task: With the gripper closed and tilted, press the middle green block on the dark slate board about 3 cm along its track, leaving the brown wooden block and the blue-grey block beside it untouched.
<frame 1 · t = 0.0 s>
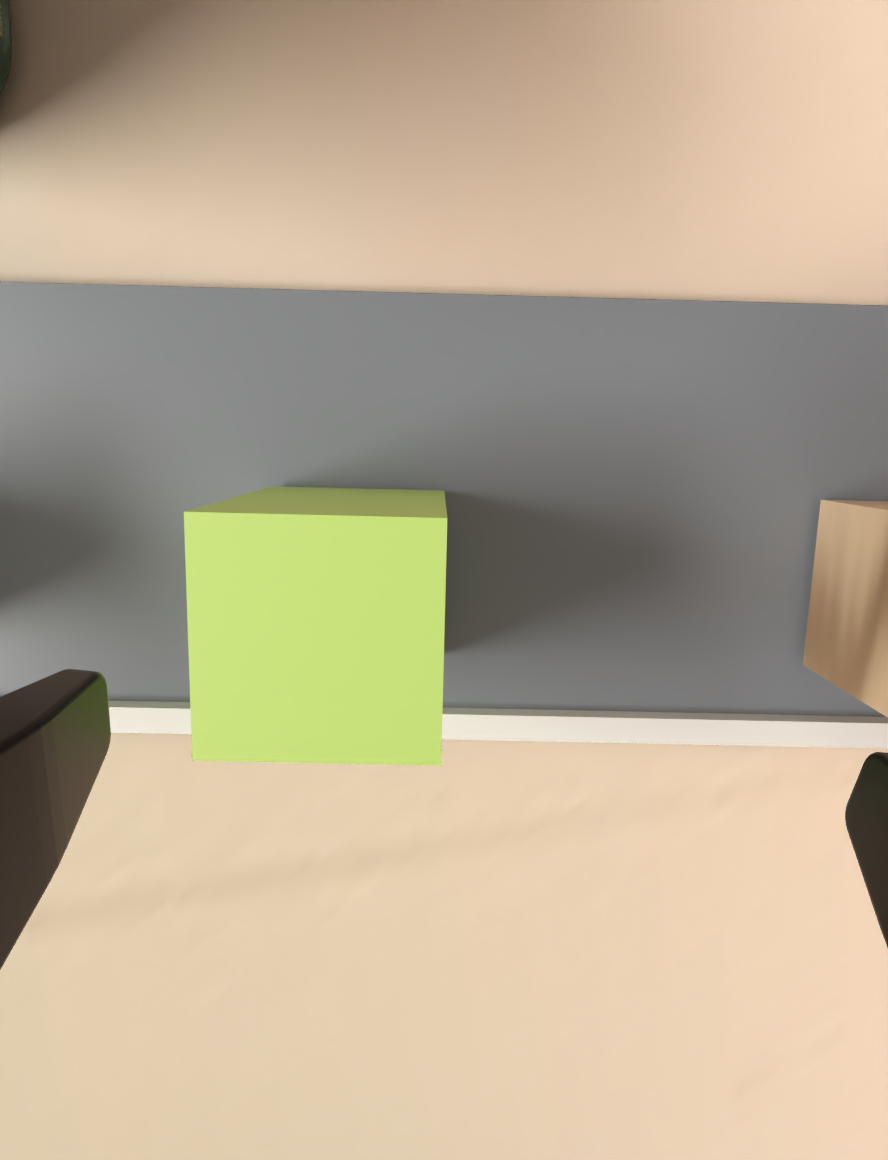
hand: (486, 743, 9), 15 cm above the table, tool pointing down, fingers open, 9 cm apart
slate board: (361, 566, 25), on the table
green block: (341, 600, 19), point 5 cm above the table, slide at 0.0 cm
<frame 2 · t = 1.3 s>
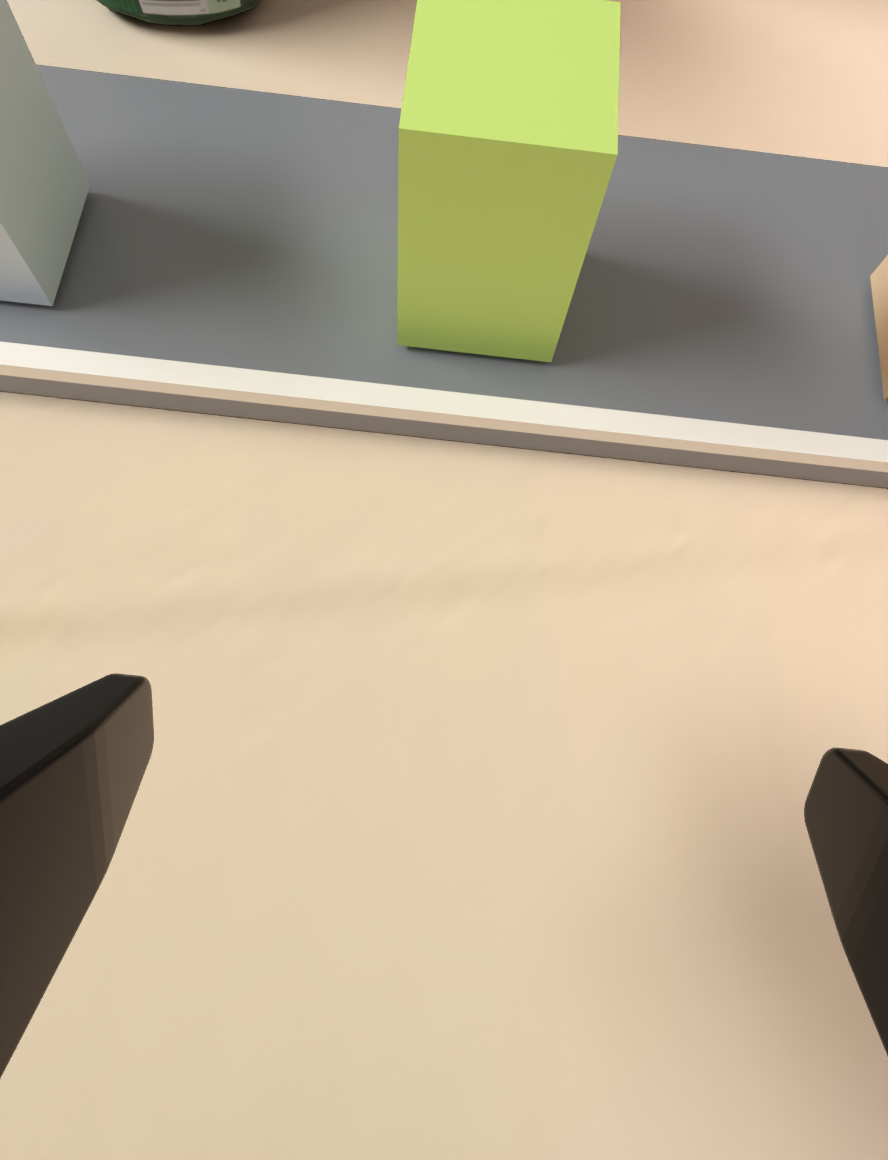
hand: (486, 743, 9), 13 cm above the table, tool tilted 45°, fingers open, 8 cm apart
slate board: (476, 315, 27), on the table
green block: (494, 195, 22), point 5 cm above the table, slide at 0.0 cm
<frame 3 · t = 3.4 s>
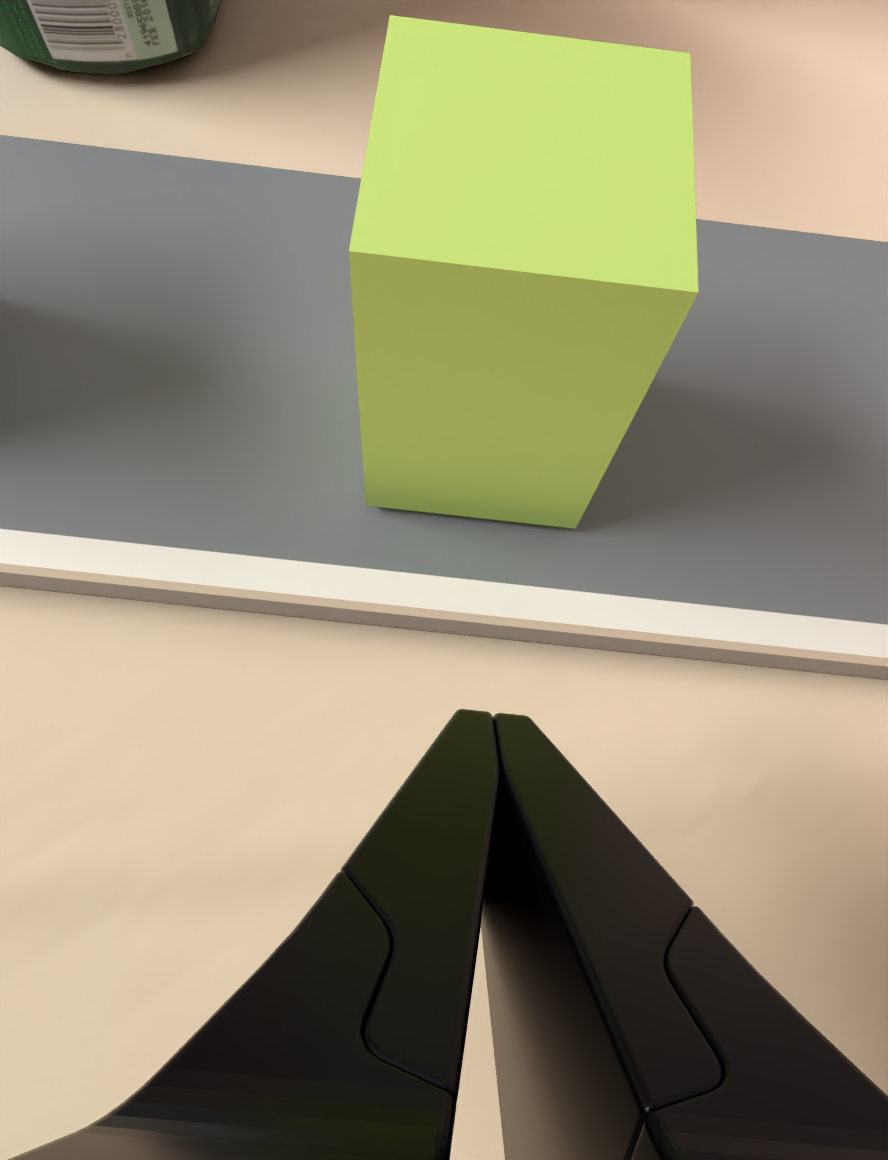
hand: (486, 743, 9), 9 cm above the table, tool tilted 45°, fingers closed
slate board: (473, 453, 21), on the table
green block: (499, 318, 16), point 5 cm above the table, slide at 0.0 cm
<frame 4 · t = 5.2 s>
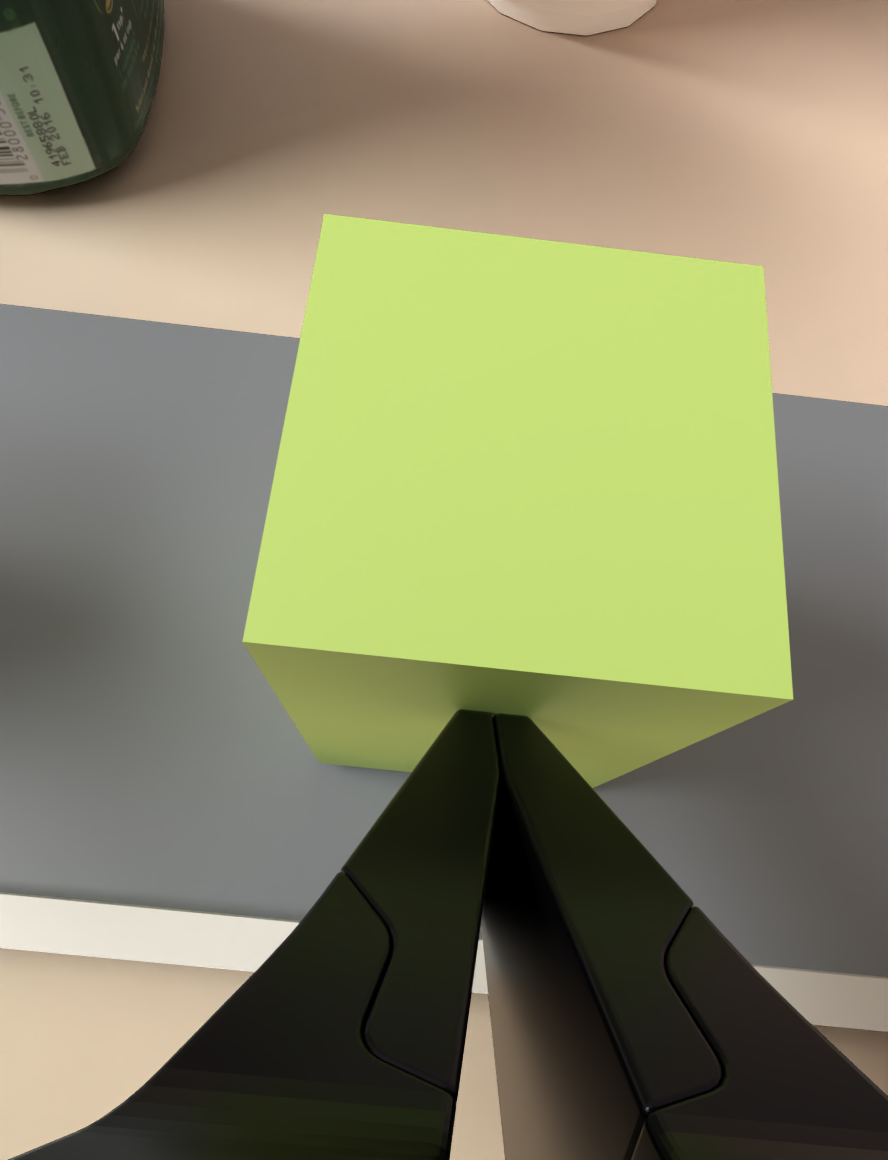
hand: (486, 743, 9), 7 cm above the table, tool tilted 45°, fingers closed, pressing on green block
coffee jar: (27, 88, 22), on the table
slate board: (455, 709, 16), on the table
green block: (488, 573, 12), point 5 cm above the table, slide at 1.0 cm, touching gripper
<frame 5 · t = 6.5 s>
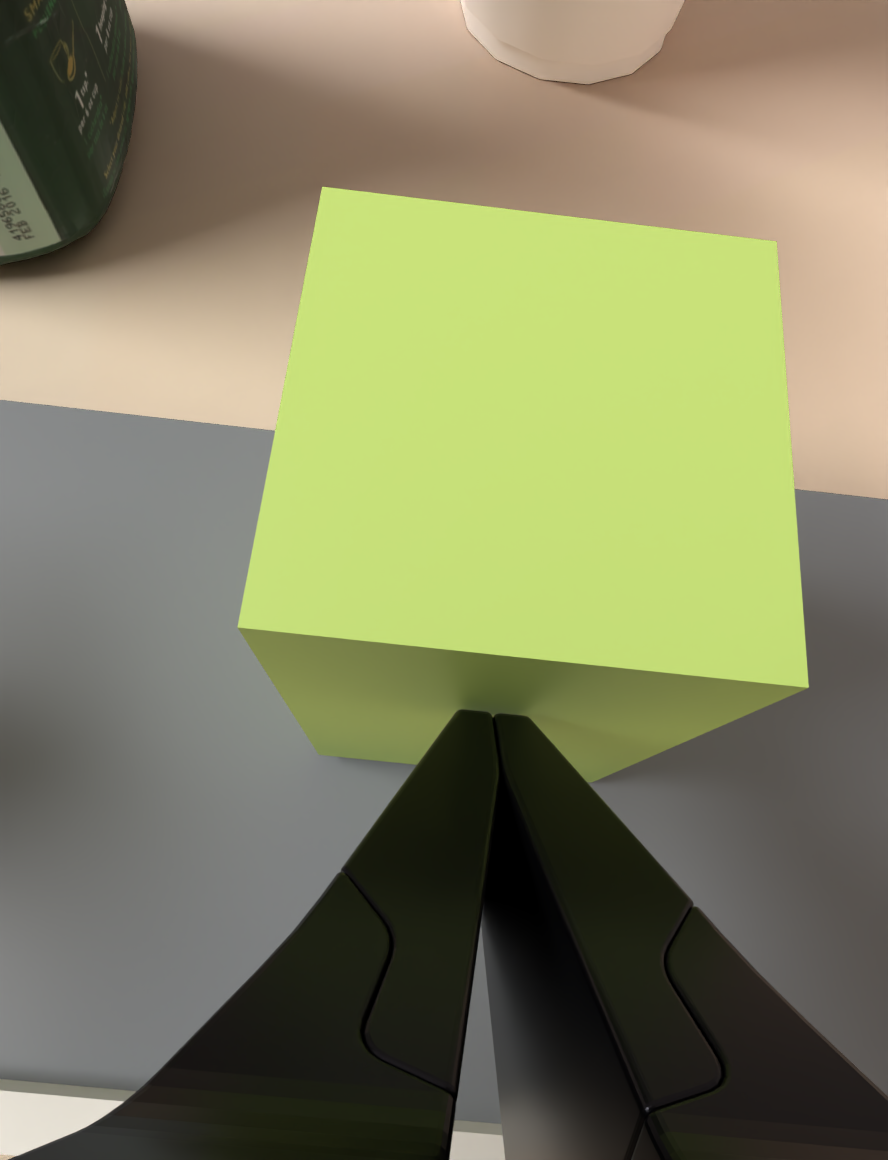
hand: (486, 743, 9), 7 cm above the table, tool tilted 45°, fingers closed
slate board: (444, 845, 15), on the table
green block: (491, 561, 11), point 5 cm above the table, slide at 3.8 cm
foam cup: (563, 14, 24), on the table
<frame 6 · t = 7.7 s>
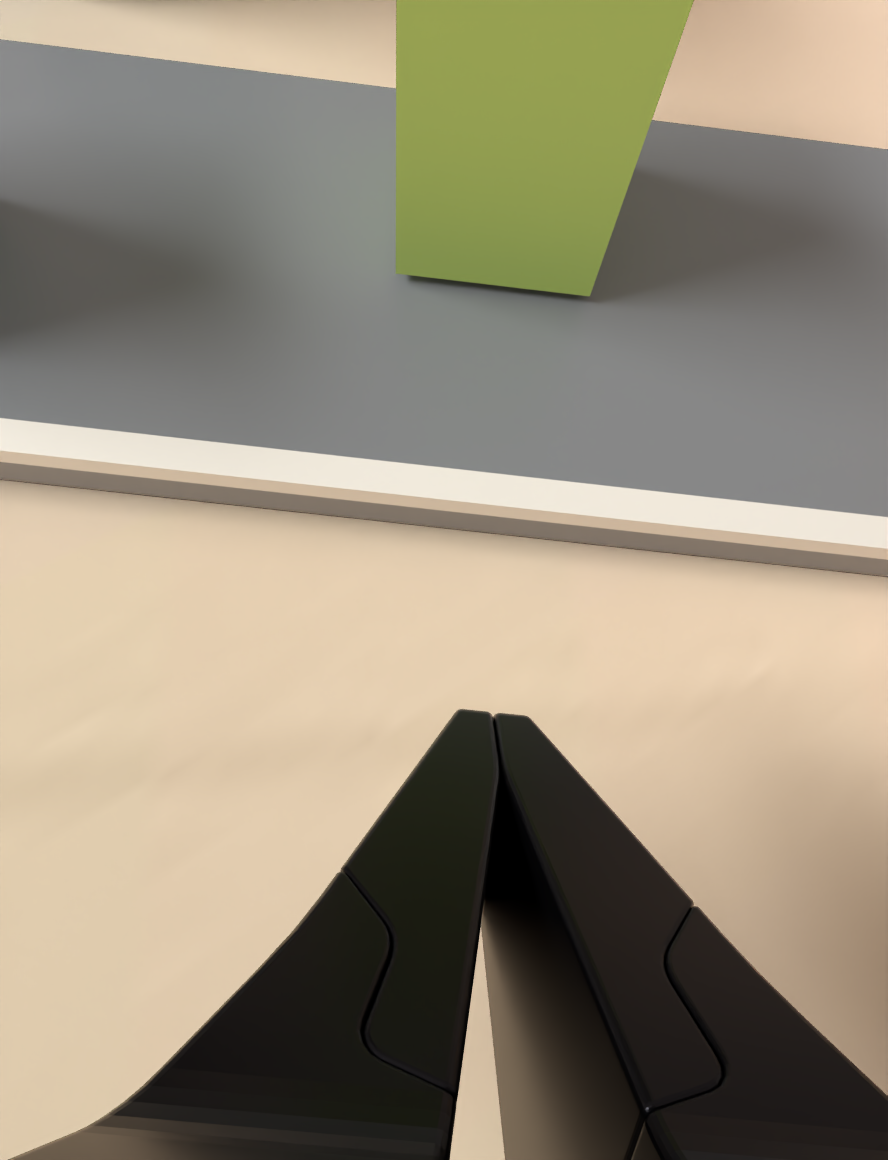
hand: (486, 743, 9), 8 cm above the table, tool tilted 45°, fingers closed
slate board: (483, 357, 21), on the table
green block: (523, 66, 17), point 5 cm above the table, slide at 3.8 cm
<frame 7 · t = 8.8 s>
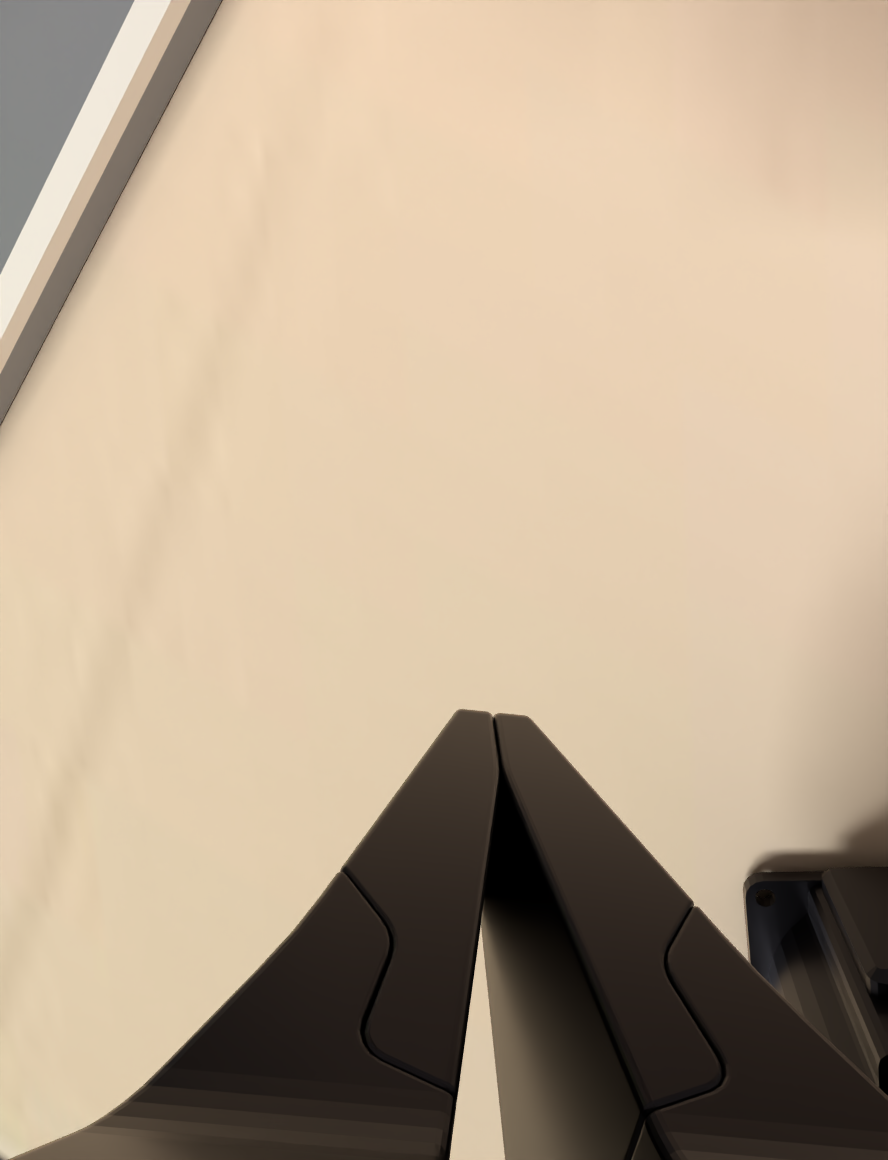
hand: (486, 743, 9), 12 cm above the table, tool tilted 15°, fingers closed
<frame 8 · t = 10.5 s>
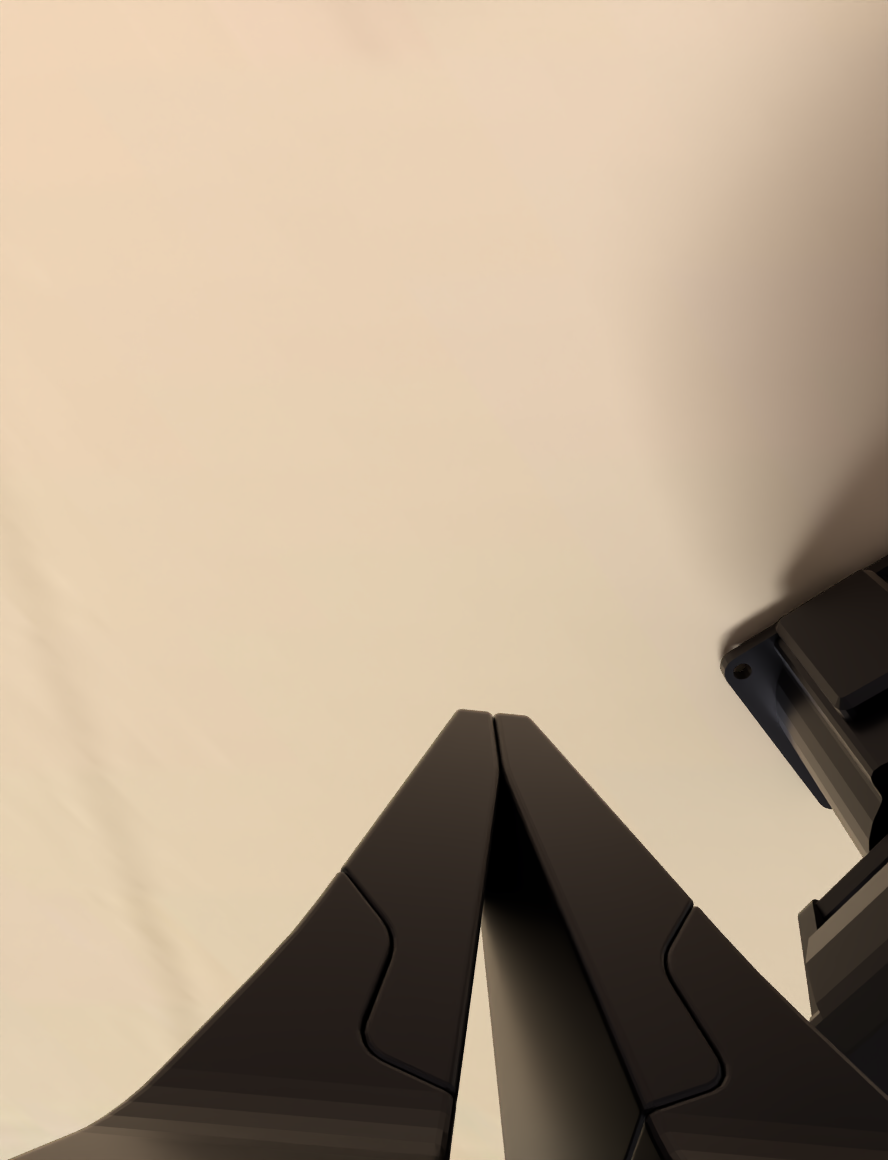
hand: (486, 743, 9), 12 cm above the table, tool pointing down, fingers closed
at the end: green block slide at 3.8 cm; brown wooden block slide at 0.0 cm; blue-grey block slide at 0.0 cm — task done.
